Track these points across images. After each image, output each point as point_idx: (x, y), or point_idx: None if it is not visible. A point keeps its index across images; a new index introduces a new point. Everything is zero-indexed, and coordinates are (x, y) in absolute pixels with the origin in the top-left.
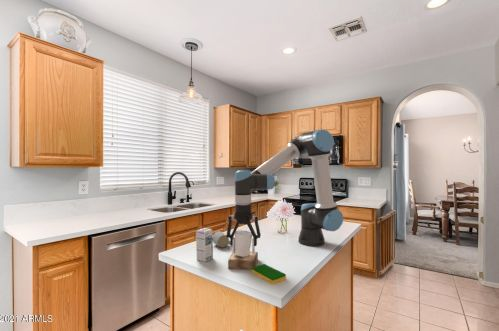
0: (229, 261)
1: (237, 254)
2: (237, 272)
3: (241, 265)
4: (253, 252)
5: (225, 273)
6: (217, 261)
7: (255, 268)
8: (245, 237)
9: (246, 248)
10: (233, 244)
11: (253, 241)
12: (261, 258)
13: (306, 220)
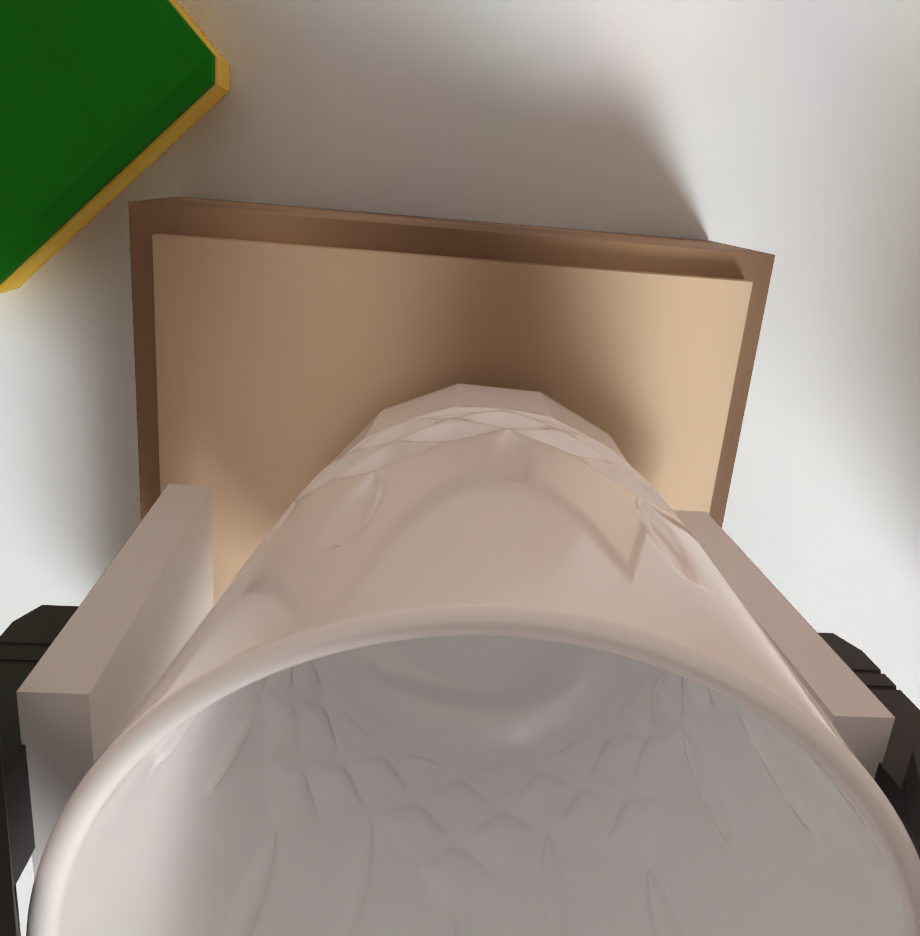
0: (736, 249)
1: (585, 423)
2: (520, 59)
3: (457, 223)
4: (173, 499)
5: (754, 3)
6: (908, 558)
7: (120, 16)
8: (346, 569)
9: (343, 461)
10: (771, 614)
11: (62, 651)
12: None
13: None
